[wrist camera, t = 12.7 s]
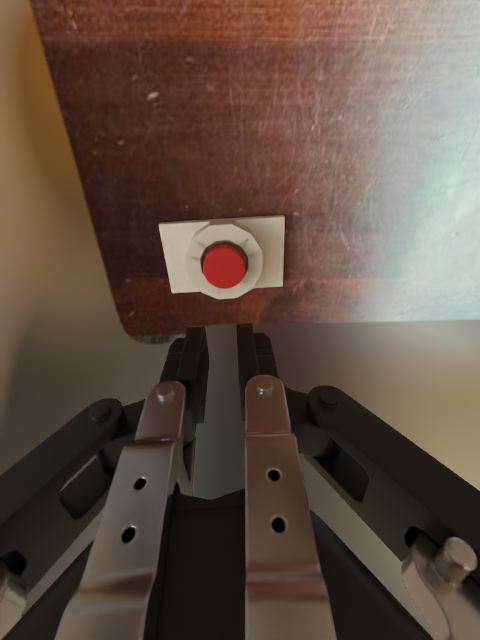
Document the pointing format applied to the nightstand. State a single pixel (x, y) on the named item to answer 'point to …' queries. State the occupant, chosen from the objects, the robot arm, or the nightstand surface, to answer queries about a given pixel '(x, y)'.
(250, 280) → the switch box
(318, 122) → the nightstand surface
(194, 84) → the nightstand surface
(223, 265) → the power button
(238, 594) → the robot arm
